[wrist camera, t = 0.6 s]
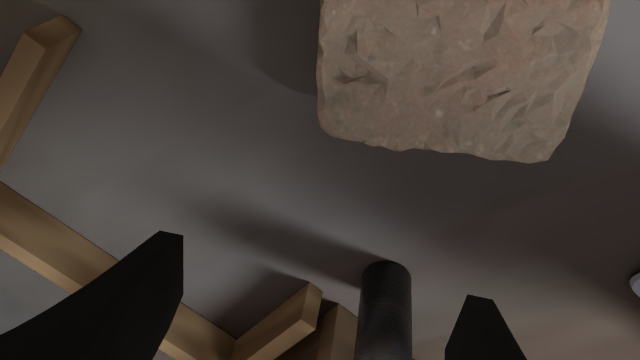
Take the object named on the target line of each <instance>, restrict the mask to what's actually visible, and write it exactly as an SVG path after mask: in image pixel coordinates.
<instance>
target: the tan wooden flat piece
mask: <svg viewBox="0 0 640 360" xmlns="http://www.w3.org/2000/svg"><path fill="white" fill-rule="evenodd" d="M81 31H82V30H81V29H80V28H79V27H78V26H76V25H75V24H74V23H72V22H71V21H70V20H69V19H67V18H66V17H65V16H64V15H60V16H58V17H55V18H53V19H51V20H49V21H47V22H45V23H42V24H40V25H38V26H36V27H34V28H31V29H29V30H27V31H25V32H23V34H22V36H21V38H20V40H19V41H18V43H17V45H16V47H15V49H14V51H13V53H12V55H11V57H10V59H9V61H8V63H7V65H6V67H5V69H4V71H3V73H2V75H1V77H0V171H1V169H2V167H3V165H4V164H5V162H6V160H7V158H8V157H9V155H10V153H11V152H12V150H13V148H14V146H15V145H16V143H17V141H18V139H19V138H20V136H21V134H22V133H23V131H24V129H25V127H26V126H27V124H28V122H29V120H30V119H31V117H32V115H33V114H34V112H35V110H36V108H37V107H38V105H39V103H40V101H41V100H42V98H43V96H44V94H45V93H46V91H47V89H48V88H49V86H50V84H51V82H52V81H53V79H54V77H55V75H56V74H57V72H58V70H59V69H60V67H61V65H62V63H63V62H64V60H65V58H66V56H67V55H68V53H69V51H70V50H71V48H72V46H73V44H74V43H75V41H76V39H77V37H78V36H79V34H80V32H81ZM0 249H2V250H3V251H5V252H6V253H8V254H10V255H11V256H13V257H14V258H16V259H17V260H19V261H21V262H22V263H24V264H25V265H27V266H29V267H30V268H32V269H33V270H35V271H36V272H38V273H40V274H41V275H43V276H44V277H46V278H47V279H49V280H51V281H52V282H54V283H55V284H57V285H59V286H60V287H62V288H63V289H65V290H66V291H68V292H70V293H71V294H73V293H74V292H76V291H77V290H79V289H80V288H82V287H83V286H85V285H87V284H88V283H89V282H91V281H92V280H94V279H95V278H97V277H98V276H99V275H101V274H102V273H103V272H105V271H106V270H108V269H109V268H110V267H112V266H113V265H115V264H116V263H117V262H119V261H118V260H116V259H115V258H113V257H112V256H110V255H109V254H107V253H106V252H104V251H103V250H101V249H100V248H98V247H97V246H95V245H94V244H92V243H91V242H89V241H88V240H86V239H85V238H83V237H82V236H80V235H79V234H77V233H76V232H74V231H73V230H71V229H70V228H68V227H67V226H66V225H64V224H63V223H61V222H60V221H58V220H57V219H55V218H54V217H52V216H51V215H49V214H48V213H46V212H45V211H43V210H42V209H40V208H39V207H37V206H36V205H34V204H33V203H31V202H30V201H28V200H27V199H25V198H24V197H22V196H21V195H19V194H18V193H16V192H15V191H13V190H12V189H10V188H9V187H7V186H6V185H4V184H3V183H1V182H0ZM322 293H323V292H322V291H321V290H319V289H318V288H316V287H315V286H314V285H312V284H311V283H310V282H309V283H308V284H306V285H305V286H304V287H303V288H301V289H300V290H299V291H298V292H296V293H295V294H294V295H293V296H291V297H290V298H289V299H288V300H286V301H285V302H284V303H282V304H281V305H280V306H279V307H277V308H276V309H275V310H274V311H272V312H271V313H270V314H269V315H267V316H266V317H265V318H264V319H262V320H261V321H260V322H259V323H257V324H256V325H255V326H253V327H252V328H251V329H250V330H248V331H247V332H246V333H245V334H243V335H242V336H241V337H240V338H238V339H237V340H236V339H234V338H233V337H231V336H230V335H228V334H227V333H225V332H224V331H222V330H221V329H220V328H218V327H217V326H215V325H214V324H212V323H211V322H209V321H208V320H206V319H205V318H203V317H202V316H200V315H199V314H197V313H196V312H194V311H193V310H191V309H190V308H188V307H187V306H185V305H184V304H182V303H181V302H180V304H179V306H178V309H177V311H176V314H175V316H174V318H173V321H172V323H171V325H170V328H169V330H168V332H167V334H166V336H165V337H164V339H163V341H162V343H161V345H160V346H159V348H158V349H160V350H161V351H163V352H164V353H166V354H168V355H169V356H171V357H172V358H174V359H175V360H274V359H275V358H276V357H278V356H279V355H281V354H282V353H283V352H285V351H286V350H288V349H289V348H290V347H292V346H293V345H294V344H296V343H297V342H299V341H300V340H301V339H303V338H304V337H306V336H307V335H308V334H310V333H311V332H313V331H314V330H315V329H316V324H317V319H318V314H319V308H320V303H321V298H322Z"/></svg>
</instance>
